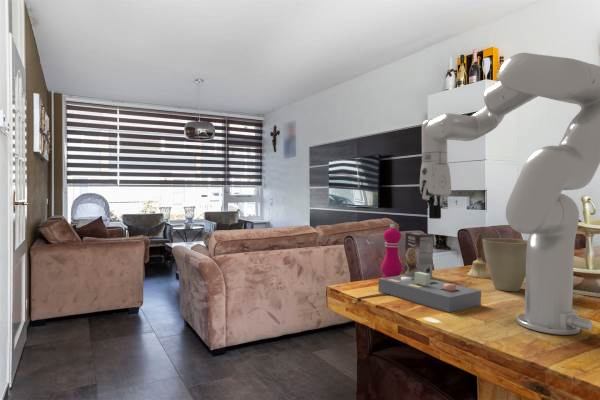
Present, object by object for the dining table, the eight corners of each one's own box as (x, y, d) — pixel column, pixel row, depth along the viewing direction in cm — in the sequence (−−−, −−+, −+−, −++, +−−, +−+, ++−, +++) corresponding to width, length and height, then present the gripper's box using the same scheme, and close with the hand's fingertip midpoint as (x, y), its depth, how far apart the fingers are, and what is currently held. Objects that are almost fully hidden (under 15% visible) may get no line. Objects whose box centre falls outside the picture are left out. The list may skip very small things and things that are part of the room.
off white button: (413, 285, 125) (413, 278, 125) (406, 286, 124) (406, 279, 124) (405, 283, 128) (405, 276, 128) (398, 284, 126) (398, 277, 126)
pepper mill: (402, 283, 138) (403, 225, 137) (381, 282, 139) (381, 224, 139) (401, 278, 145) (402, 223, 144) (381, 277, 146) (381, 223, 146)
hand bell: (495, 278, 148) (496, 235, 147) (472, 278, 148) (473, 235, 147) (484, 273, 156) (485, 232, 156) (463, 273, 156) (464, 232, 156)
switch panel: (480, 304, 112) (481, 289, 112) (448, 312, 105) (449, 296, 104) (409, 286, 134) (409, 273, 134) (378, 291, 126) (378, 277, 126)
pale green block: (429, 295, 117) (430, 274, 117) (425, 296, 116) (425, 274, 116) (418, 292, 120) (419, 271, 120) (414, 293, 119) (414, 272, 119)
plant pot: (530, 286, 135) (531, 239, 135) (535, 296, 122) (536, 244, 121) (481, 281, 141) (482, 236, 141) (481, 291, 128) (482, 241, 128)
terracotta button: (458, 292, 112) (458, 285, 112) (451, 294, 110) (451, 286, 110) (448, 290, 115) (448, 282, 115) (441, 291, 113) (441, 284, 113)
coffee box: (404, 274, 153) (404, 232, 153) (418, 273, 155) (419, 231, 155) (417, 279, 144) (418, 234, 144) (433, 278, 146) (434, 234, 146)
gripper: (429, 156, 117) (429, 219, 117) (459, 159, 126) (460, 218, 126) (408, 159, 124) (409, 218, 123) (439, 161, 132) (439, 217, 132)
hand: (435, 218), depth 125 cm, fingers closed
